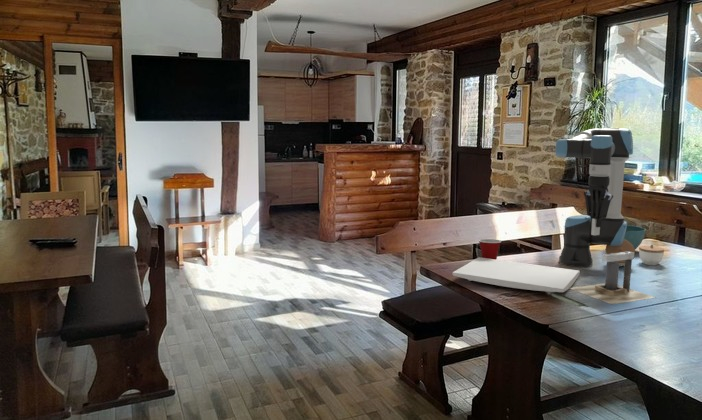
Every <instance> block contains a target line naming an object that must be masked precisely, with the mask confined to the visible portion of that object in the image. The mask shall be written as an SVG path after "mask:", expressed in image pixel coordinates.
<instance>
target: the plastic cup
mask: <svg viewBox="0 0 702 420" xmlns="http://www.w3.org/2000/svg"><path fill="white" fill-rule="evenodd" d="M478 242H479V247H480V253H481V258H488V259H495V260H498V253H499V250H500V246H501V243H502V240H500V239H493V238H492V239H487V238H483V239H478Z"/></svg>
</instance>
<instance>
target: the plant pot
mask: <svg viewBox="0 0 702 420" xmlns="http://www.w3.org/2000/svg"><path fill="white" fill-rule="evenodd" d="M646 230H647V229H646V228H645V227H641V226H636V225H628V224H627V228H626V232H625V236H624V239H625V240H627V241H629V242H630V243H631V244H632V245H633V246H634V249H635V250H637V248H639V247H640V246H641V244H642V243H643V241H644V238H645V235H646V232H647V231H646Z"/></svg>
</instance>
